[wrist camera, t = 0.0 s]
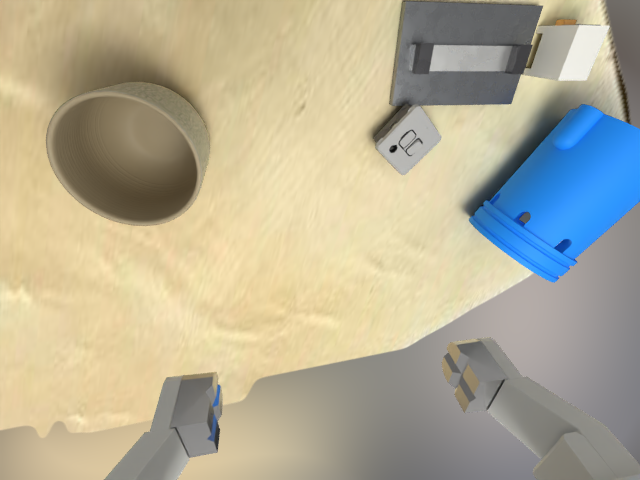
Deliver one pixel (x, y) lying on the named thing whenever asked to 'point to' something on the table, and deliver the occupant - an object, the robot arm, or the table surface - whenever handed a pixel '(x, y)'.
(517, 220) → the tube
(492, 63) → the din board
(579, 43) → the din module
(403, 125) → the electrical switch
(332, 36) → the table surface
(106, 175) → the planter
